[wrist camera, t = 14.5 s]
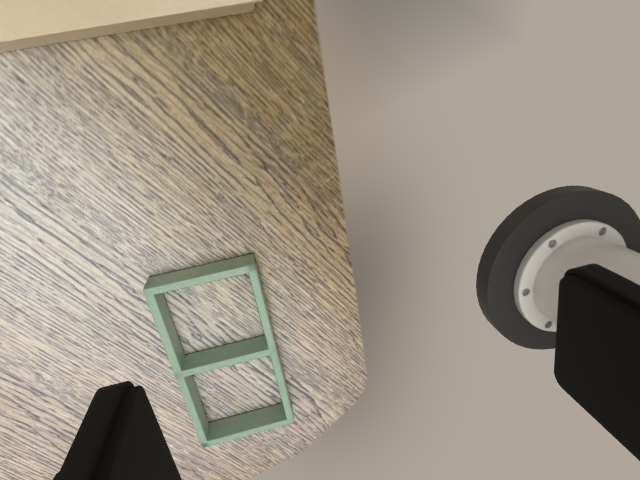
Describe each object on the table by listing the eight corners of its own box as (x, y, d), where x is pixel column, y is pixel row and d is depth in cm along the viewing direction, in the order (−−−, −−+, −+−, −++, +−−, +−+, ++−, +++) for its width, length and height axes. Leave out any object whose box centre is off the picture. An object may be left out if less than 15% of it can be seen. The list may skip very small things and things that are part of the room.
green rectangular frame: (253, 253, 38) (254, 264, 36) (291, 405, 45) (294, 422, 42) (148, 277, 37) (142, 289, 34) (203, 429, 44) (202, 448, 41)
